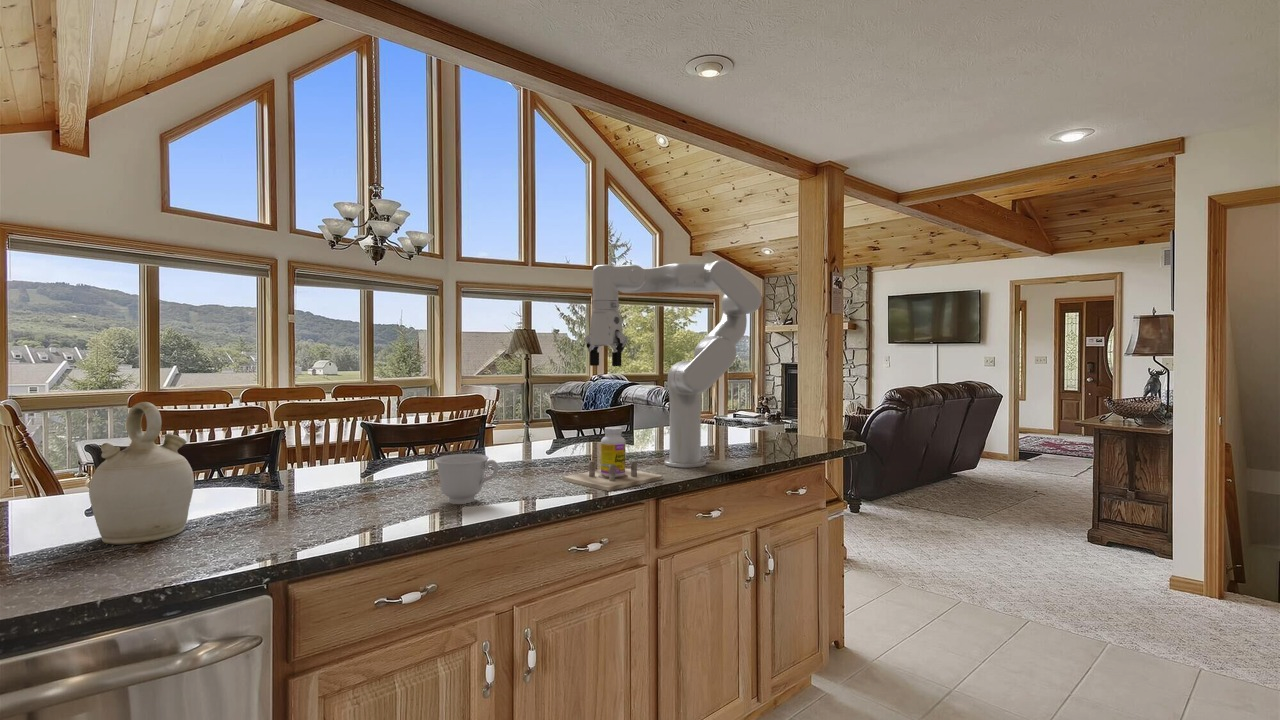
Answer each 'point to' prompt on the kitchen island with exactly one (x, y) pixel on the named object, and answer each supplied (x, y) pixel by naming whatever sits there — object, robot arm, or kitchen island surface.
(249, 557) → the kitchen island surface
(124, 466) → the jug
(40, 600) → the kitchen island surface
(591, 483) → the holder
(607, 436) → the supplement bottle
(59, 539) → the kitchen island surface
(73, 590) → the kitchen island surface
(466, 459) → the teacup
